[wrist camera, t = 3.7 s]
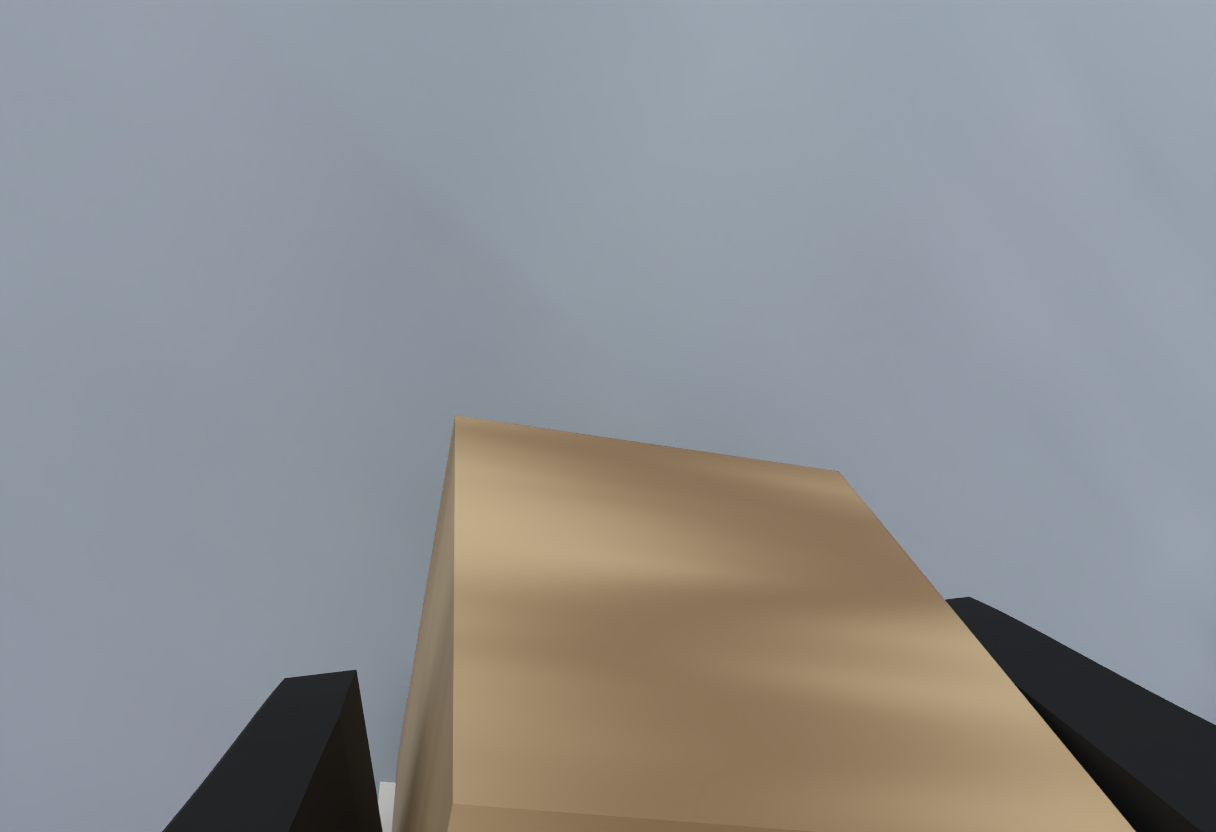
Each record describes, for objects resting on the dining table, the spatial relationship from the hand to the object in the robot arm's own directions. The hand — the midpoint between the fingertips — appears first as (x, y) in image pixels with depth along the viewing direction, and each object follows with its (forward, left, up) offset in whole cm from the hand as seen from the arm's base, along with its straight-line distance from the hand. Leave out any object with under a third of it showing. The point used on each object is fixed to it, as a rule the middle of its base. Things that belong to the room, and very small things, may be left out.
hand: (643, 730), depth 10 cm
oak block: (0, 0, -2) cm, 2 cm away
